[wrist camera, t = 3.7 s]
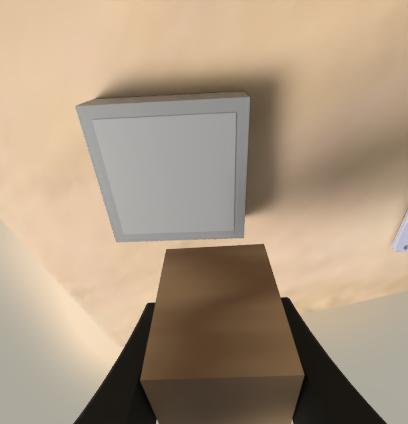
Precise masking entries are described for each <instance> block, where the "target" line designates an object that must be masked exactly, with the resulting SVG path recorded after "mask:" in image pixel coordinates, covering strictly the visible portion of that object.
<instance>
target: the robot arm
mask: <svg viewBox="0 0 408 424" xmlns="http://www.w3.org/2000/svg"><path fill="white" fill-rule="evenodd" d="M392 248H393V249H394V250H395V251H397V252H404V251H408V210H407V213H406V215H405V217H404V219H403V221H402V224H401V226H400V228H399V230H398V232H397V235H396V237H395V239H394V241H393V243H392ZM281 301H282V304H283V307H284V310H285V314H286V317H287V320H288V323H289V327H290V330H291V333H292V336H293V339H294V343H295V346H296V349H297V352H298V356H299V359H300V362H301V365H302V369H303V372H304V379H303V382H302V386H301V389H300V393H299V396H298V400H297V403H296V407H295V411H294V414H293V418H292V419H293V423H294V424H387V423H386V422H385V421H384V420H383V419H382V418H381V417H380V416H379V415H378V414H377V413H376V411H375V410H374V409H373V408H372V407H371V406H370V405H369V404H368V403H367V401H366V400H365V399H364V398H363V397H362V396H361V395H360V394H359V392H358V391H357V390H356V389H355V388H354V387H353V385H351V383H350V382H349V381H348V379H347V378H346V377H345V376H344V375H343V373H342V372H341V371H340V370H339V369H338V367H337V366H336V365H335V363H334V362H333V361H332V360H331V358H330V357H329V356H328V355H327V353H326V352H325V351H324V349H323V348H322V346H321V345H320V344H319V342H318V341H317V340H316V338H315V337H314V336H313V334H312V333H311V331H310V330H309V328H308V327H307V325H306V324H305V322H304V321H303V319H302V318H301V316H300V315H299V313H298V312H297V310H296V309H295V307H294V305H293V304H292V302H291V300H290V299H289V298H288V297H283V298H281ZM154 308H155V303H148V304H147V305H146V307H145V309H144V311H143V313H142V315H141V317H140V319H139V321H138V323H137V325H136V327H135V329H134V331H133V333H132V335H131V336H130V338H129V340H128V342H127V343H126V345H125V347H124V349H123V350H122V352H121V354H120V356H119V357H118V359H117V361H116V362H115V364H114V366H113V367H112V369H111V370H110V372H109V373H108V375H107V377H106V378H105V380H104V381H103V383H102V385H101V386H100V387H99V389H98V390H97V392H96V393H95V395H94V396H93V397H92V399H91V400H90V402H89V403H88V405H87V406H86V408H85V409H84V410H83V412H82V413H81V415H80V416H79V417H78V418H77V420H76V421H75V422H74V424H156V420H157V418H156V416H155V414H154V411H153V409H152V407H151V404H150V402H149V400H148V398H147V395H146V393H145V391H144V388H143V386H142V384H141V382H140V378H141V373H142V368H143V363H144V358H145V353H146V348H147V343H148V338H149V333H150V328H151V323H152V318H153V313H154Z"/></svg>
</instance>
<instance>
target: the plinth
mask: <svg viewBox="0 0 408 424" xmlns="http://www.w3.org/2000/svg"><path fill="white" fill-rule="evenodd" d="M75 107H76V110H77V114H78V117H79V120H80V124H81V127H82V130H83V133H84V137H85V140H86V143H87V147H88V150H89V153H90V157H91V160H92V163H93V167H94V170H95V173H96V177H97V180H98V183H99V186H100V190H101V193H102V196H103V200H104V203H105V206H106V210H107V213H108V216H109V220H110V223H111V226H112V230H113V233H114V236H115V240H116V242H138V241H168V240H198V239H228V238H244V222H245V200H246V178H247V156H248V134H249V112H250V96H249V95H248V94H246V93H245V92H244V91H236V92H217V93H198V94H179V95H160V96H142V97H123V98H104V99H93V100H90V101H87V102H85V103H82V104H79V105H77V106H75Z"/></svg>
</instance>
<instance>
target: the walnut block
mask: <svg viewBox="0 0 408 424" xmlns="http://www.w3.org/2000/svg"><path fill="white" fill-rule="evenodd" d="M303 379H304V372H303V369H302V365H301V362H300V359H299V356H298V352H297V349H296V346H295V343H294V339H293V336H292V333H291V330H290V327H289V323H288V320H287V317H286V314H285V310H284V307H283V304H282V301H281V298H280V294H279V291H278V288H277V285H276V281H275V278H274V275H273V272H272V269H271V265H270V262H269V259H268V256H267V252H266V249H265V246H264V244H255V245H237V246H219V247H200V248H182V249H166V253H165V258H164V263H163V268H162V273H161V278H160V283H159V288H158V293H157V298H156V303H155V308H154V313H153V318H152V323H151V328H150V333H149V338H148V343H147V348H146V353H145V358H144V363H143V368H142V373H141V378H140V382H141V384H142V386H143V388H144V391H145V393H146V395H147V398H148V400H149V402H150V404H151V407H152V409H153V411H154V414H155V416H156V418H157V420H158V423H159V424H291V421H292V418H293V414H294V411H295V407H296V403H297V400H298V396H299V393H300V389H301V386H302V382H303Z"/></svg>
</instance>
